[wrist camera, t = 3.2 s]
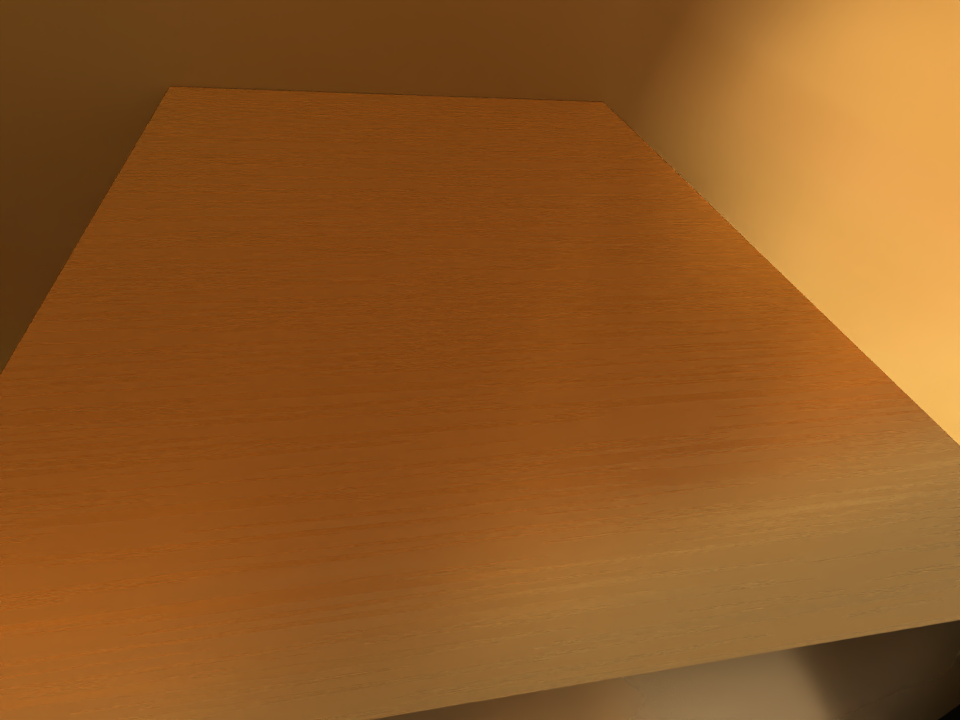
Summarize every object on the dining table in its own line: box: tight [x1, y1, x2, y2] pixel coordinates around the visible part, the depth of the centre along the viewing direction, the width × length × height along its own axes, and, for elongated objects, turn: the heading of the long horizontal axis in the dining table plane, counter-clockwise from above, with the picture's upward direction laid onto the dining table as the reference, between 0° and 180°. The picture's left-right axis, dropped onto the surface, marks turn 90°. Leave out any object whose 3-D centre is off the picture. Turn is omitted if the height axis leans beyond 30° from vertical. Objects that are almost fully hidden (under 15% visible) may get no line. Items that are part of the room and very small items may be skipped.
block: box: [0, 87, 960, 720], centre depth 8 cm, size 6×6×8 cm
